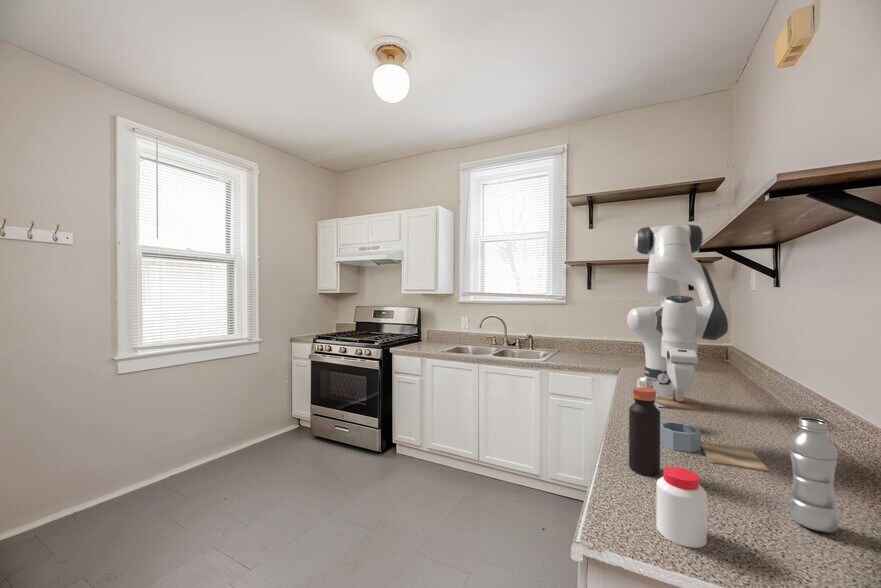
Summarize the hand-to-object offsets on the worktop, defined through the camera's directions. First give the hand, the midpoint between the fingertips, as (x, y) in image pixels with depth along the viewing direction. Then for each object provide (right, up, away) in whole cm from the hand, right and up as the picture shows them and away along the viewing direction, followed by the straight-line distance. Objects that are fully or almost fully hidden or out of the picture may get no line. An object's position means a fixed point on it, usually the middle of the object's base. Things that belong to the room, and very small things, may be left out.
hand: (678, 398), depth 108 cm
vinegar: (-19, -13, -16) cm, 28 cm away
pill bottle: (-26, -13, -41) cm, 50 cm away
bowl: (0, -13, -1) cm, 13 cm away
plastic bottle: (+1, -13, -38) cm, 41 cm away
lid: (0, -2, 0) cm, 2 cm away
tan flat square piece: (+9, -13, -8) cm, 18 cm away
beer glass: (+1, -14, +18) cm, 22 cm away
